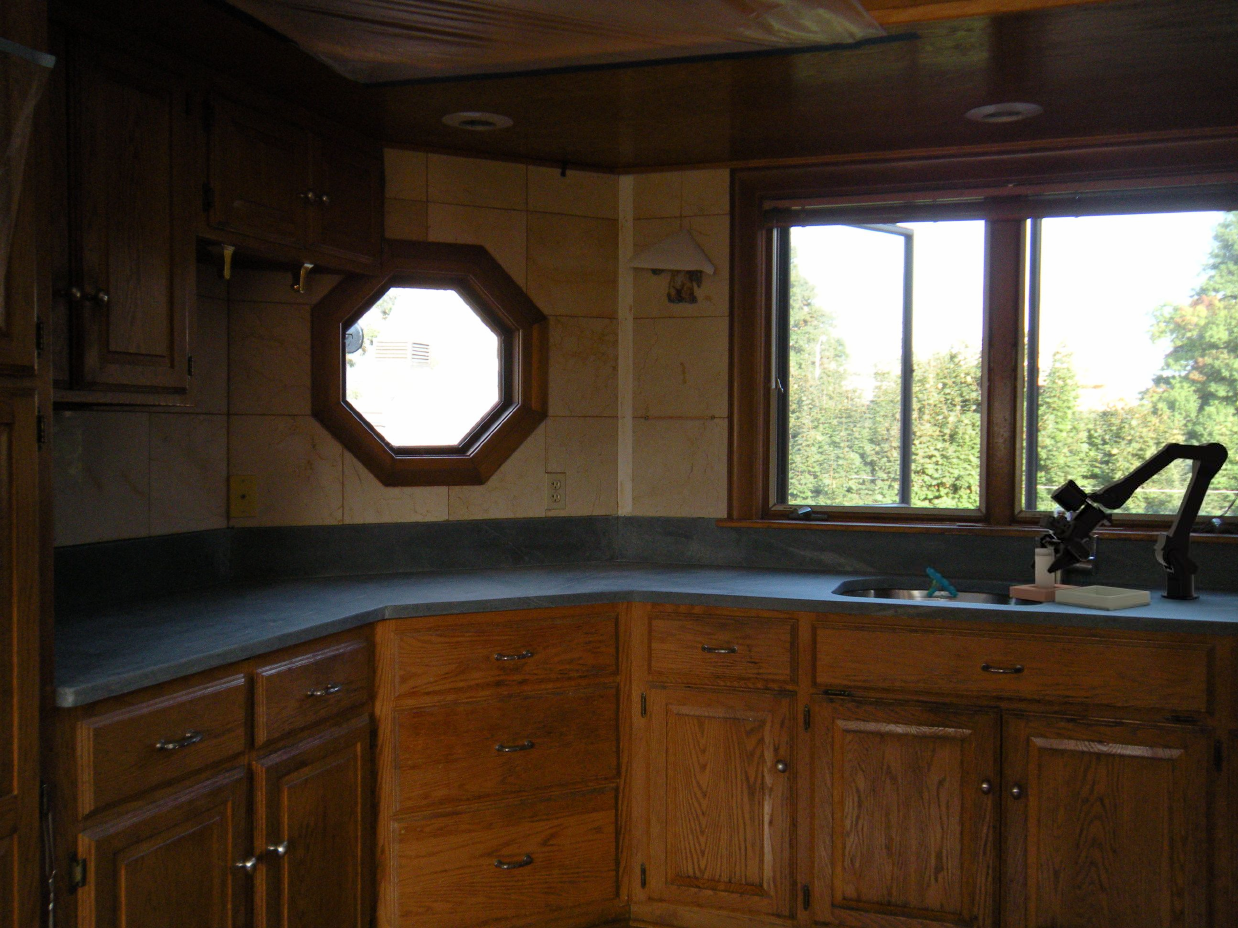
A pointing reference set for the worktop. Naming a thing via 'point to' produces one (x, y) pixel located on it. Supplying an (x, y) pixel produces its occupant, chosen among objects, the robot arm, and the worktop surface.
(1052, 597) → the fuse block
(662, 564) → the worktop surface
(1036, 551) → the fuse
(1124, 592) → the tray
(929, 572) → the teal branched piece
